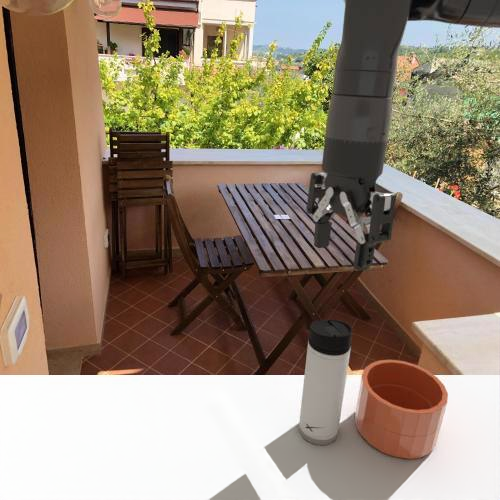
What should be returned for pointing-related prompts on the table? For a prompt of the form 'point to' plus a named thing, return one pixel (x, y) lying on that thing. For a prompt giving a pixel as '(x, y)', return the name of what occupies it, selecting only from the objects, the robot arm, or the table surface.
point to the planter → (400, 408)
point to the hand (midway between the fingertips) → (339, 257)
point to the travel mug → (324, 380)
